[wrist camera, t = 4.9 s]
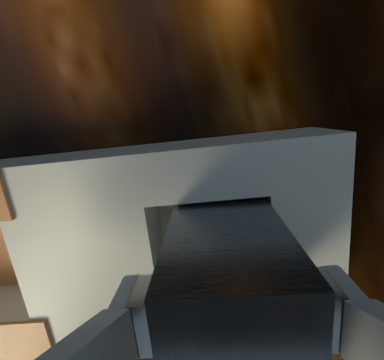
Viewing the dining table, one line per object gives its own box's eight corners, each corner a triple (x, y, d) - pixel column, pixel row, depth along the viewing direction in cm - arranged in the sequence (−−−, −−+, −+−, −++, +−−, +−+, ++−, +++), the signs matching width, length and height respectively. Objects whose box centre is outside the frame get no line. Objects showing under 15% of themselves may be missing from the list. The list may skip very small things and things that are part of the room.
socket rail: (311, 126, 14) (359, 132, 9) (309, 285, 16) (346, 343, 12) (-99, 169, 15) (-211, 190, 11) (-43, 309, 17) (-116, 368, 13)
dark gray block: (260, 190, 12) (335, 293, 5) (262, 264, 13) (325, 431, 6) (177, 196, 12) (143, 301, 5) (184, 268, 13) (165, 432, 6)
